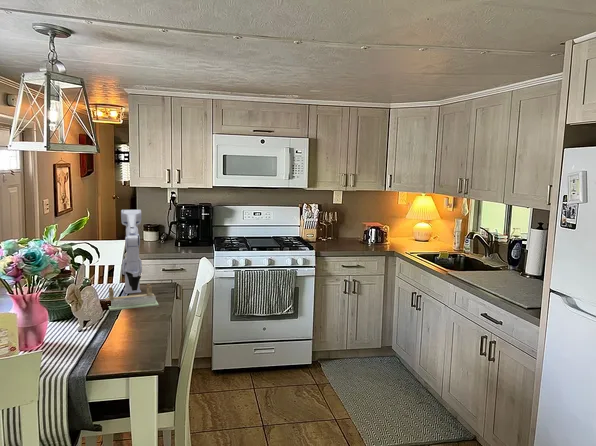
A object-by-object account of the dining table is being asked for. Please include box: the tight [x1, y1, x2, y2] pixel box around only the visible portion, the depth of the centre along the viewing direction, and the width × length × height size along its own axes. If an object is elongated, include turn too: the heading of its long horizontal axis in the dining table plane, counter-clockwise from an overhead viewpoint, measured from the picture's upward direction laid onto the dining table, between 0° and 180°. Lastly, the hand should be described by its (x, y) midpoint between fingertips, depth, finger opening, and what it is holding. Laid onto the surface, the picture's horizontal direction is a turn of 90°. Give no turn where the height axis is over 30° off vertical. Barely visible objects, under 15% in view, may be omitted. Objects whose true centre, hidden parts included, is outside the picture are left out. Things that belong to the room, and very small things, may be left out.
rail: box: [111, 294, 157, 308], centre depth 229 cm, size 20×3×3 cm, turn 117°
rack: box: [104, 283, 155, 301], centre depth 237 cm, size 7×23×6 cm, turn 117°
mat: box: [108, 300, 159, 312], centre depth 229 cm, size 8×22×1 cm, turn 117°
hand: (133, 288), depth 228 cm, fingers open, 7 cm apart
